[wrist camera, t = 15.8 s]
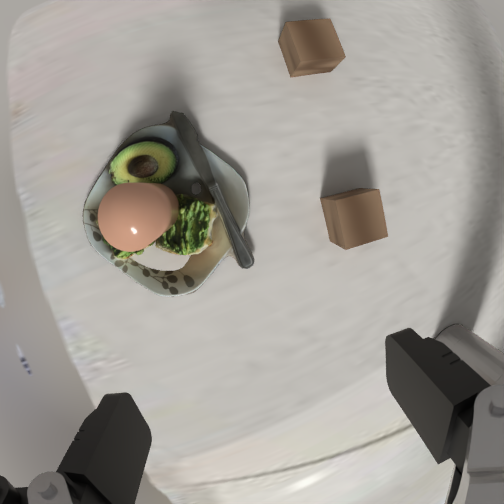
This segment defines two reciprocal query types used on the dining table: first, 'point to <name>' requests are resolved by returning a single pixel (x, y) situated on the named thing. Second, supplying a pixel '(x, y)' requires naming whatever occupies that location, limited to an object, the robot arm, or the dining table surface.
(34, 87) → the dining table surface
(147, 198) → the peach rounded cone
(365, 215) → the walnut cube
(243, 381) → the dining table surface
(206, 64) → the dining table surface
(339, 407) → the dining table surface
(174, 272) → the salad plate
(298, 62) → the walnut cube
